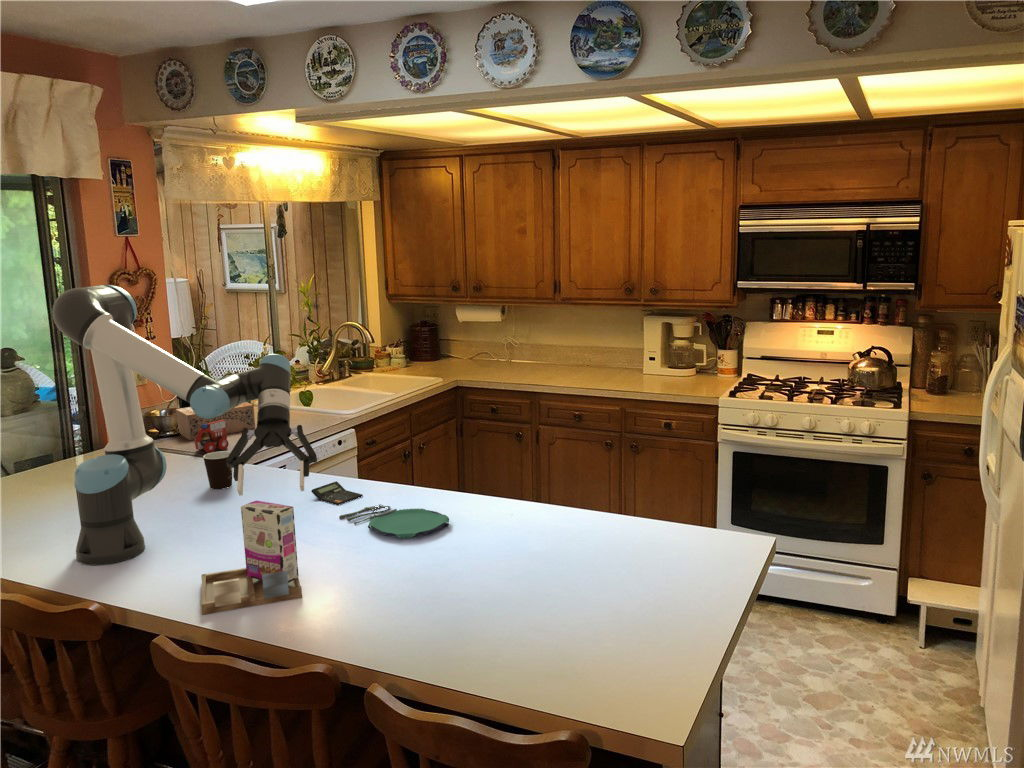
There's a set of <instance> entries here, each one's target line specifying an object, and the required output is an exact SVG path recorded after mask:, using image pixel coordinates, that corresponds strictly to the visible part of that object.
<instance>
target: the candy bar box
mask: <svg viewBox="0 0 1024 768" xmlns="http://www.w3.org/2000/svg"><path fill="white" fill-rule="evenodd" d="M240 510H241V511H240V513H241V522H242V525H241V526H242V532H243V533H242V536H243V545H244V546H243V548H244V557H245V558H244V559H245V568H246V571H247V577H250V578H254V579H259V580H262V574H268V573H274V572H280V571H287V577H288V583H289V582H291V581H293V580H295V579H297V578H299V577H300V575H299V567H298V566H299V565H298V551H297V540H296V539H297V538H296V526H295V512H294V506H290V505H286V504H280V503H273V502H268V501H261V500H254V501H252V502H249V503H246V504H244V505H241V506H240Z"/></svg>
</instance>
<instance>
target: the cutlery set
mask: <svg viewBox="0 0 1024 768" xmlns="http://www.w3.org/2000/svg"><path fill="white" fill-rule="evenodd" d="M380 505H382V507H379V508H378V507H375V506H376V505H373V506H368V507H367V506H365V507H364V508H361V509H360V510H358V511H354V512H351V513H350V512H349V513H345V514H340V515H339V517H338V518H339V519H340V520H343V519H346V521H347V522H351V521H353V520H355V519H358V518H361V517H366V516H368V515H369V516H368V517H367V518H364V519H362V520H358V521H354V522H353V524H355V526H356V525H357V524H359V523H361V522H365V521H367V520H369V523H368V526H367V528H368V529H369V530H370V529H371V530H372V531H374V532H375V533H378V534H380V535H384V536H389V537H398V538H399V539H412V538H414V536H415V537H416V536H422V535H425V534H430V533H433V532H435V531H438V530H439V529H441V528H443V527H444V526H445V525H446V524H447V525H448V526H449V524H450V518H449V516H448V515H446V514H443V513H440V512H438V511H436V510H435V511H434V510H428V509H425V508H403V509H399V510H398V509H397V508H394V509H391V510H389V509H390V508H391V506H390V505H386V506H385V505H383V504H381V503H380V504H379V506H380ZM385 507H388V508H389V509H387V508H385ZM375 508H376V509H375ZM380 508H384V509H383V510H381V509H380ZM372 509H374V510H372ZM377 509H379V511H378V510H377ZM367 510H371V512H368V511H367ZM375 510H376V511H375ZM388 510H389V511H388ZM374 511H375V512H374ZM384 511H385V512H384ZM363 512H366V513H363ZM378 512H381V513H378ZM357 513H359V514H357ZM355 514H356V515H355ZM352 515H353V516H352ZM345 517H346V518H345Z"/></svg>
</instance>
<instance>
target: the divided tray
mask: <svg viewBox="0 0 1024 768" xmlns="http://www.w3.org/2000/svg"><path fill="white" fill-rule="evenodd" d="M302 598H303V588H302V585H301V582H300V579H299V577H298V578H297V579H295V580H293V581H291V582H289V583H288V577H287V571H280V572H274V573H268V574H262V580H259V579H254V578H250V577H247V571H246V567H243V568H236V569H229V570H224V571H216V572H211V573H202V574H201V603H200V606H201V607H200V609H201V615H203V616H205V615H209V614H215V613H221V612H226V611H233V610H238V609H239V610H240V609H243V608H244V609H245V608H249V607H250V608H251V607H254V606H255V607H256V606H262V605H266V604H267V605H268V604H272V603H277V602H278V603H279V602H285V601H290V600H296V599H302Z"/></svg>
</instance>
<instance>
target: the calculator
mask: <svg viewBox="0 0 1024 768" xmlns="http://www.w3.org/2000/svg"><path fill="white" fill-rule="evenodd" d="M311 493H312V494H313V495H314V496H315V497H316V498H317V499H318V500H319V501H321V500H322V501H321V502H324V501H325V503H328V502H329V503H328V504H331V503H333V504H332V505H335V504H336V506H340V505H343V504H345V502H346V503H348V502H347V501H349V502H351V501H354V500H357V499H359V498H358V497H360V498H362V497H361V496H363V494H362V493H359V492H354V491H350V490H346V489H345V488H344V486H342V485H341V484H340V483H339V482H338V481H333V482H331V483H327V484H324V485H321V486H318V487H316V488H313V489H311ZM356 498H357V499H356ZM353 499H354V500H353ZM350 500H351V501H350ZM342 503H343V504H342ZM339 504H340V505H339Z"/></svg>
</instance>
